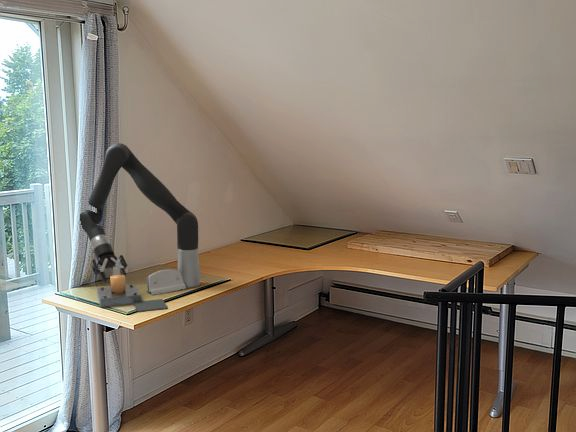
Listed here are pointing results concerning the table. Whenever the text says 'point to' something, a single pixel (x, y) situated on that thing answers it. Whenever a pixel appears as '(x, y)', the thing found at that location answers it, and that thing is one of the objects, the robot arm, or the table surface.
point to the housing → (118, 296)
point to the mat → (150, 305)
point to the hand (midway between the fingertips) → (115, 279)
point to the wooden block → (118, 284)
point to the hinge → (165, 281)
